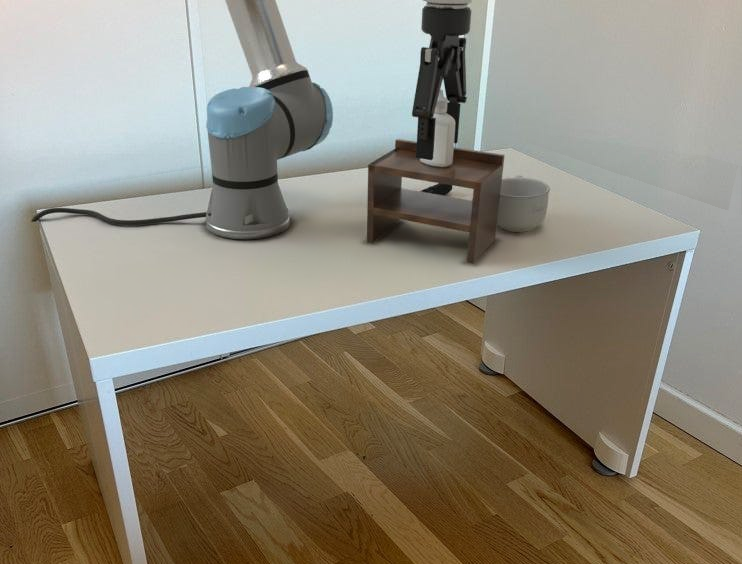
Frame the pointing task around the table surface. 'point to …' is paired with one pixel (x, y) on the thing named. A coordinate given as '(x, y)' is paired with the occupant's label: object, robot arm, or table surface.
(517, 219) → the teacup
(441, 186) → the electric trimmer
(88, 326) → the table surface
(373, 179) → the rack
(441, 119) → the eye dropper bottle
